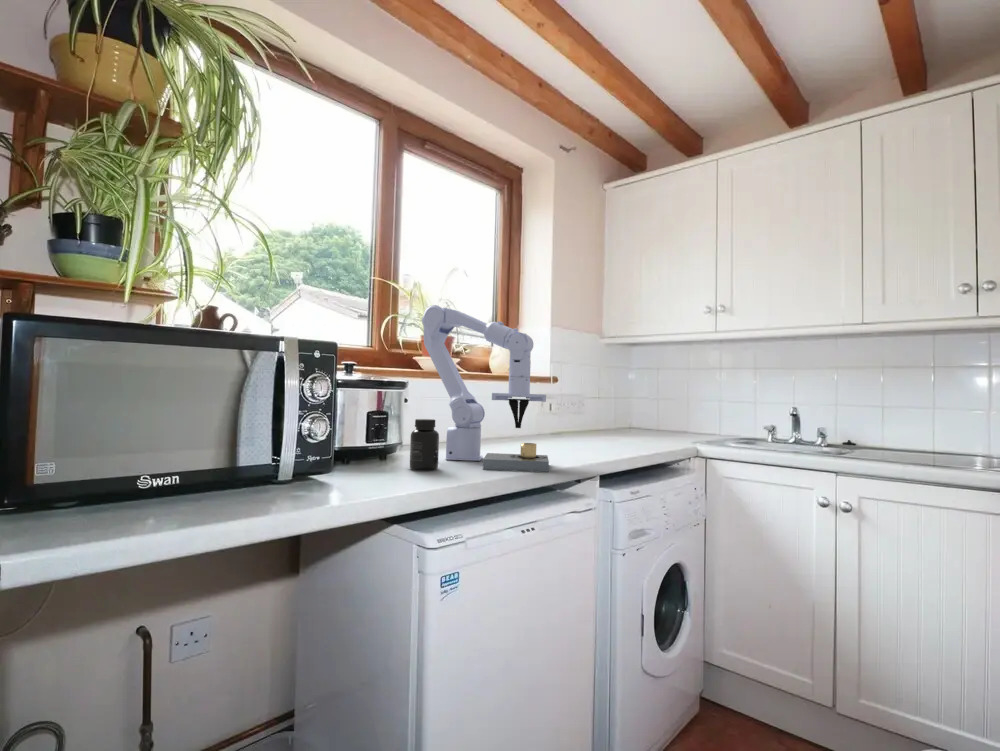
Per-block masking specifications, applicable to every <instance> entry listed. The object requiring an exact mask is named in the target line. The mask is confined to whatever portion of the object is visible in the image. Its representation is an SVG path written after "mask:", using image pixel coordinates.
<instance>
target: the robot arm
mask: <svg viewBox="0 0 1000 751" xmlns="http://www.w3.org/2000/svg"><path fill="white" fill-rule="evenodd" d="M421 322H422V325H423V345H424V346H425V347H424V348H425V349H426V351H427V353H428V355H429V357H430V359H431V361H432V363H433V365H434V367H435V369H436V371H437V373H438V375H439V377H440V379H441V381H442V384H443V386H444V388H445V389H446V392H447V394H448V396H449V398H450V400H449V404H448V406H449V407H450V409H451V418H452V419H451V420H452V421H453V423H454V424H455V425H454V426H448V427H447V431H446V442H445V444H446V446H445V448H446V449H445V460H447V461H448V460H450V461H475V462H476V461H477V462H478V461H479V462H481V460H483V458H484V456H483V455H481V443H482V441H481V440H482V424H481V423H482V422H483V420H484V419H485V414H486V413H485V409H484V407H483V405H482V404H480V403H479V402H478V401H477V399H476V398H475V396H474V395H473V394H472V393H470V391H469V390H468V388H467V386H466V384H465V382H464V380H463V378H462V376H461V374H460V372H459V369H458V368H457V366H456V364H455V362H454V360H453V359H452V356H451V355H450V354H451V353H450V352H449V350H448V348H447V346H446V340H447V338H448V336H449V335H450V334H451V332H452V331H453V330H454V329H455V328H460V327H464V328H468V329H469V330H473V331H475V332H477V333H480V334H483V336H484V338H485V340H486V341H487V342H489V343H491V344H494V345H496V346H498V347H501V348H503V349H505V350H508V351H509V363H508V366H509V368H508V370H509V371H508V392H505V393H504V392H492V393H491V401H508V405H509V407H510V409H511V412H512V416H513V419H514V424H515V425H514V426H515V427H514V428H515V429H521V428H522V421H523V418H524V415H525V412H526V410H527V407H528V405H529V402H547V394H546V393H545V394H540V393H538V394H537V393H531V392H530V391H531V383H530V382H531V364H532V363H531V355H532V354H531V352H532V351H533V348H534V340H533V338H532V337H531V336H530V335H528V334H527V333H523V332H520V331H519V329H518V328H515V327H514V328H511V327H509V326H506V325H504V322H503V321H500V320H498V321H492V322H490V323H486V322H484V321H483V320H480V319H478V318H476V317H473V316H471V315H469V314H467V313H465V312H462V311H459V310H455V309H452V308H448V307H442V306H439V305H436V304H432V305H430V306H428V307H427V308H426V309H425V310H424V313H423V315H422V317H421ZM513 397H515V398H513Z"/></svg>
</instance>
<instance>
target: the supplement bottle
mask: <svg viewBox="0 0 1000 751" xmlns="http://www.w3.org/2000/svg"><path fill="white" fill-rule="evenodd" d="M414 420H415V421H414V428H415V429H414V430H413V431H411V433H410V446H409V447H410V448H409V468H410V470H412V471H418V472H430V471H432V472H433V471H436V470H438V468H439V449H440V447H439V446H440V445H439V444H440V434H439V432H438V431H437V430H436V429H435V428H436V419H431V418H417V419H414Z"/></svg>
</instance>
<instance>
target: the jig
mask: <svg viewBox="0 0 1000 751" xmlns="http://www.w3.org/2000/svg"><path fill="white" fill-rule="evenodd" d="M520 456H521V453H499V452H497V453H494V452H487V453H486V454H485V456H483V458H482V462H483V463H482V470H485V471H489V470H490V471H491V470H492V471H511V470H518V471H517V472H537V471H540V472H539V473H542V472H543V473H549V470H550V468H549V466H550V465H549V464H550V461H549V460H550V459H549V457H548V455H547V454H536V458H535V459H528V458H520Z"/></svg>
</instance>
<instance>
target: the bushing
mask: <svg viewBox="0 0 1000 751" xmlns="http://www.w3.org/2000/svg"><path fill="white" fill-rule="evenodd" d="M520 454H521V456H520V458H528V459H535V458H536V455H537V443H535V442H521V443H520Z"/></svg>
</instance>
